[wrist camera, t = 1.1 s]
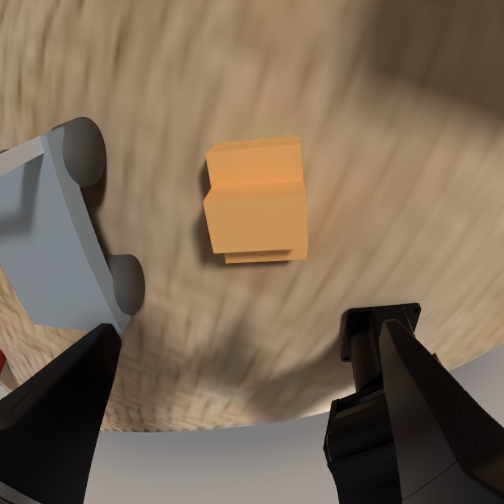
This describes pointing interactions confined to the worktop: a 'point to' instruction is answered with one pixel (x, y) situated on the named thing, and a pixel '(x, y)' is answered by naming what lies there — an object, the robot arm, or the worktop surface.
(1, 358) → the plastic cup
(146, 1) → the worktop surface
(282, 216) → the chock
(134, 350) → the worktop surface
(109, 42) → the worktop surface
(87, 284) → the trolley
